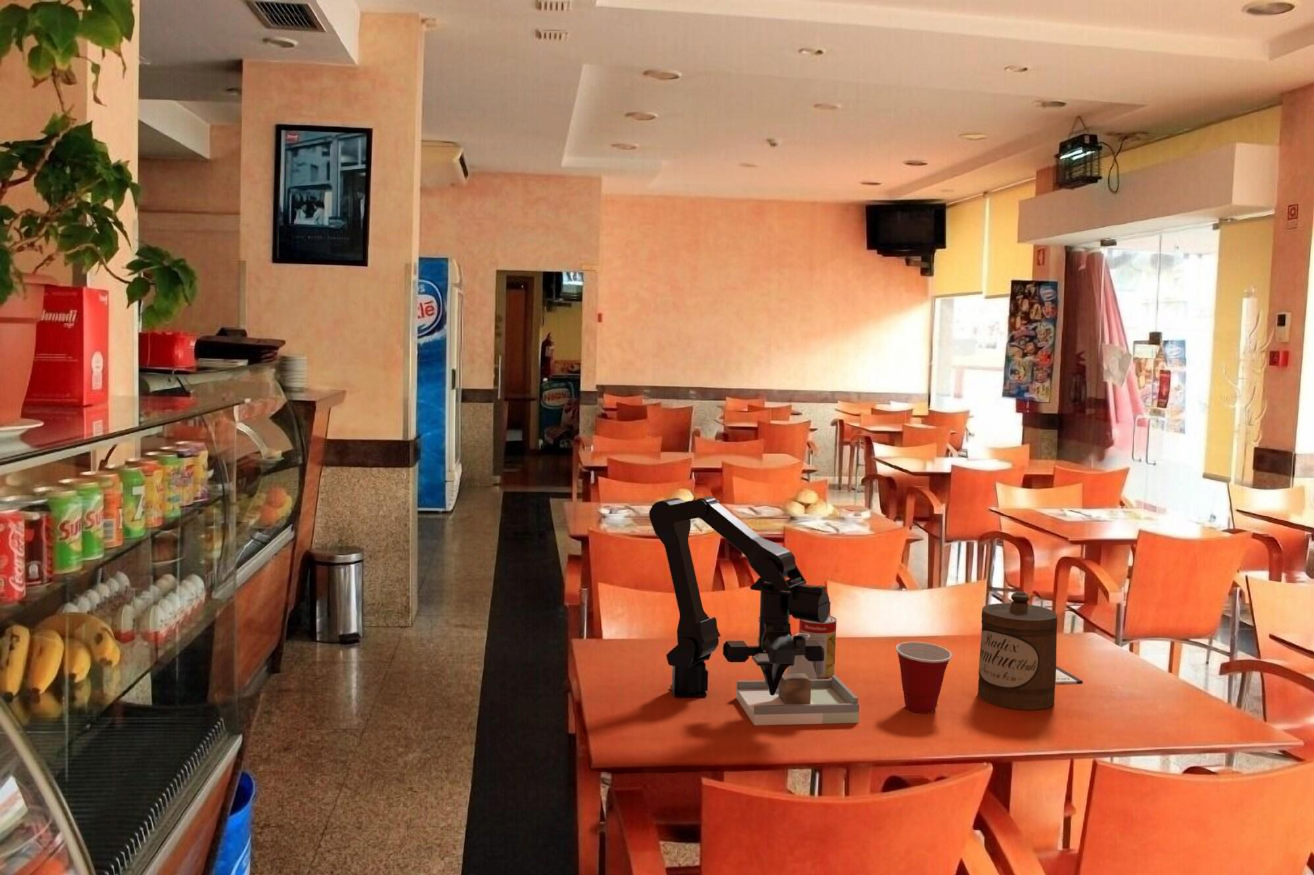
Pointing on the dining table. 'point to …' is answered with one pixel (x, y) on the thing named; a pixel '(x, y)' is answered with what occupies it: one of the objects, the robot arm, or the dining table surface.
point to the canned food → (822, 643)
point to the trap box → (825, 707)
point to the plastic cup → (922, 674)
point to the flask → (802, 663)
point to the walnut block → (795, 688)
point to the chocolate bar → (1065, 677)
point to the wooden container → (1018, 654)
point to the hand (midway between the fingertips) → (771, 694)
